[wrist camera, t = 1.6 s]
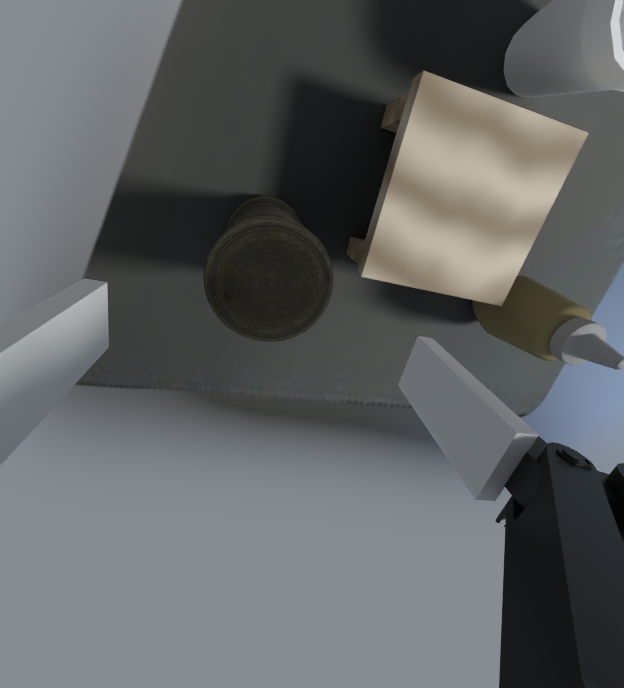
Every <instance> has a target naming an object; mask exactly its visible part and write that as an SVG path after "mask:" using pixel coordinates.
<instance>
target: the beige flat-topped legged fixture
mask: <svg viewBox="0 0 624 688" xmlns="http://www.w3.org/2000/svg"><path fill="white" fill-rule="evenodd" d="M381 128H382V129H386V130H389V131H392V132H395V133H397V134H396V137H395V140H394V144H393V147H392V151H391V154H390V158H389V161H388V164H387V168H386V171H385V175H384V178H383V181H382V185H381V188H380V192H379V195H378V198H377V202H376V205H375V209H374V212H373V215H372V219H371V222H370V226H369V229H368V232H367V236H366V239H365V240H363V239H359V238H354V237H350V241H349V245H348V248H347V252H346V254H347V255H348V256H349V257H350V258H352V259H353V260H354V261H355V262H356V263H357V264H358V266H357V270H356V272H357V273H358V274H359V275H360V276H361V277H365V278H370V279H375V280H380V281H384V282H389V283H394V284H399V285H403V286H408V287H413V288H418V289H423V290H427V291H432V292H437V293H442V294H446V295H451V296H456V297H461V298H465V299H470V300H475V301H480V302H484V303H489V304H494V305H499V306H502V304H503V303H504V301H505V299H506V297H507V295H508V293H509V291H510V289H511V287H512V285H513V283H514V281H515V279H516V277H517V275H518V273H519V271H520V269H521V267H522V265H523V263H524V261H525V259H526V257H527V255H528V253H529V251H530V249H531V247H532V245H533V243H534V241H535V239H536V237H537V235H538V233H539V231H540V229H541V227H542V225H543V223H544V221H545V219H546V217H547V215H548V213H549V211H550V209H551V207H552V205H553V203H554V201H555V199H556V197H557V195H558V193H559V191H560V189H561V187H562V185H563V183H564V181H565V179H566V177H567V175H568V173H569V171H570V169H571V167H572V165H573V163H574V161H575V159H576V157H577V155H578V153H579V151H580V149H581V147H582V145H583V143H584V141H585V139H586V137H587V135H588V133H587V132H584V131H582V130H579V129H576V128H574V127H571V126H569V125H566V124H563V123H561V122H558V121H555V120H553V119H550V118H547V117H545V116H542V115H540V114H537V113H534V112H532V111H529V110H526V109H524V108H521V107H519V106H516V105H513V104H511V103H508V102H505V101H503V100H500V99H498V98H495V97H492V96H490V95H487V94H484V93H482V92H479V91H477V90H474V89H471V88H469V87H466V86H463V85H461V84H458V83H455V82H453V81H450V80H448V79H445V78H442V77H440V76H437V75H434V74H432V73H429V72H427V71H422V72H421V73H419V74H418V75H416V76H415V77H413V79H412V83H411V86H410V89H409V92H408V93H406V94H404V95H403V96H401V97H399V98H398V99H396V100H394V101H393V102H391V103H389V104H388V105H387V106H386V110H385V114H384V117H383V121H382V124H381Z"/></svg>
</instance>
